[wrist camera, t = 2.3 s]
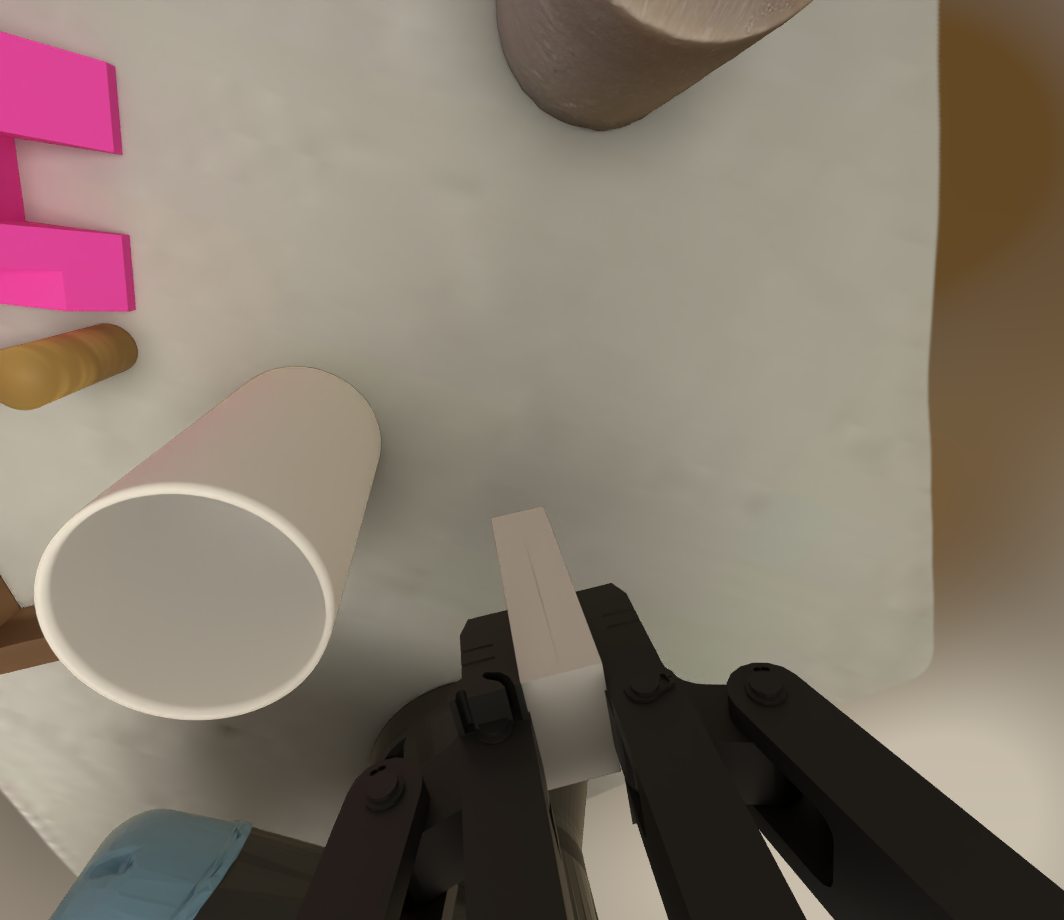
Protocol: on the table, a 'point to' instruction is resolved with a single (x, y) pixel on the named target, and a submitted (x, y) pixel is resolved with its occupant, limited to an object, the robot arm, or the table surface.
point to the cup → (217, 553)
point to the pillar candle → (626, 50)
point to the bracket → (71, 120)
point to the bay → (28, 383)
